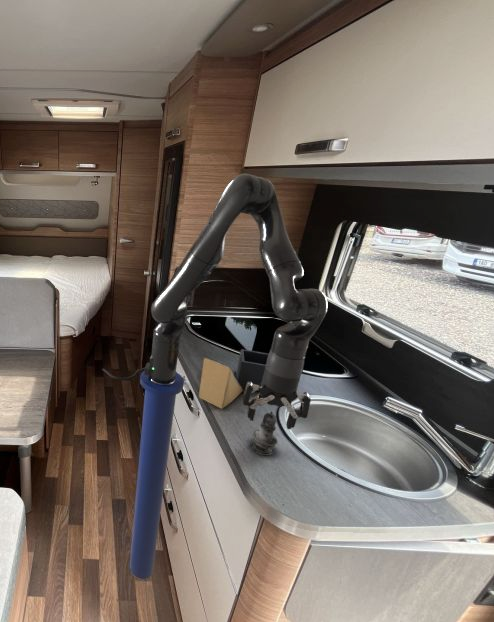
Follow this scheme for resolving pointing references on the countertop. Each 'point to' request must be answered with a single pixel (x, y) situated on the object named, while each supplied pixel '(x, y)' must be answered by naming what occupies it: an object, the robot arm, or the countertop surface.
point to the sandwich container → (218, 384)
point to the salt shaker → (265, 435)
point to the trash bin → (251, 367)
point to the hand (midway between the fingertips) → (269, 422)
